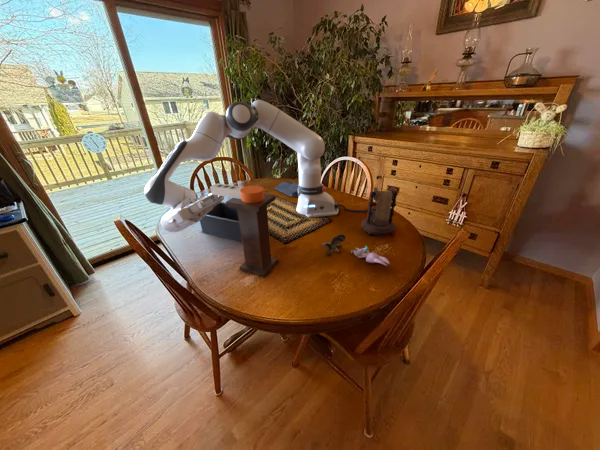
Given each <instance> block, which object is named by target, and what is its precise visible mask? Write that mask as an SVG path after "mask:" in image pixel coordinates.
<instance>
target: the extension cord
mask: <svg viewBox="0 0 600 450" xmlns="http://www.w3.org/2000/svg"><path fill="white" fill-rule="evenodd" d="M209 190H210V194H213V195H219V196H224V198H225V197H226V198H230V199H232V198H237V199H241V200H242V201H243V202H245V203H257V202H260V201H262V200H264V198H265V197H264V194H265V189H264V187H263V186H260V185H247V186H239V185H232V184H225V183H215V184H212V185H210V186H209Z"/></svg>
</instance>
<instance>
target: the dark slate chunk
mask: <svg viewBox="0 0 600 450" xmlns="http://www.w3.org/2000/svg"><path fill="white" fill-rule="evenodd" d="M298 184H299V182H298V183H297V182H292V181H289V180H287V181H285V180H284V181H282V182H280V183H279V184H277V185H276V186H275V187H274V190H276V191H277V192H280V193H281V194H284V195H286V196H287V197H295V198H297V197H299V195H298Z"/></svg>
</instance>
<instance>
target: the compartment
mask: <svg viewBox="0 0 600 450" xmlns="http://www.w3.org/2000/svg"><path fill="white" fill-rule="evenodd" d="M199 224H200V227H201V231H202V233H206V234H208V235H209V234H210V235H214V236H217V237H221V238H225V239H226V238H227V239H230V240H235V241H239V242H242V237H241V230H240V224H239V217H238V210H237V208H234V207H228V206H227V205H226V202H225V201H224V202H223V201H221V202H220V203H218V204H217V205H216V206H214V207H213V210H211V211H210V212H208V213H207V214H206V215H205V216H204V217H203V218H202V219H201V220H200V221H199Z"/></svg>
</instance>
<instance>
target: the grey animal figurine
mask: <svg viewBox="0 0 600 450" xmlns="http://www.w3.org/2000/svg"><path fill="white" fill-rule="evenodd" d="M346 238H347V237H346V235H345V234H343V233H342V234H338V235H336V236H334V237H333V238H332V239H331V241H330V242H323V243H322V244H321V246H322V247H324V248H327V249H326V250H325V252H328V254H327V255H328V256H330V255H331V254H332V253H333V252H334V251H336V252H337V253H339V252H340V251H339V249H338V247H340V244H341V243H344V242H345V240H346ZM337 246H338V247H337Z"/></svg>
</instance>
